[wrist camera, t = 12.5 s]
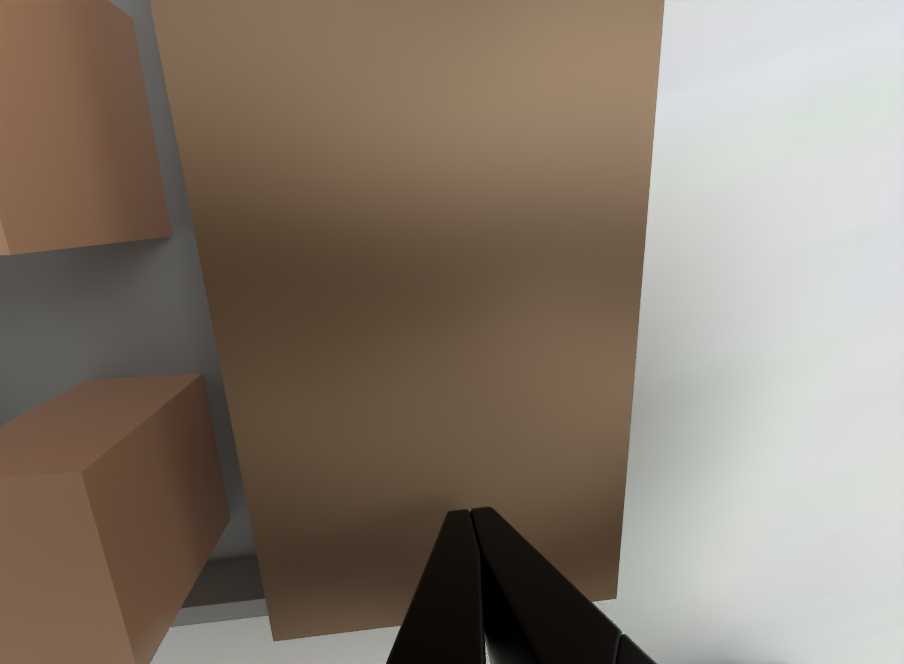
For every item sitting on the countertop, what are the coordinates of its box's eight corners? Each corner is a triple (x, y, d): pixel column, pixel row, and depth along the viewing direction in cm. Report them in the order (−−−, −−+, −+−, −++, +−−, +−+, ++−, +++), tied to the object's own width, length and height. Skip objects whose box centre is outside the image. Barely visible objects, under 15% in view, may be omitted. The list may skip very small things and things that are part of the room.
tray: (287, 557, 12) (269, 615, 10) (15, 587, 12) (-53, 653, 10) (174, -109, 8) (112, -195, 6) (-258, -119, 7) (-455, -217, 6)
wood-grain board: (577, 526, 13) (616, 598, 11) (299, 556, 12) (273, 641, 10) (606, -98, 9) (681, -212, 6) (191, -108, 8) (102, -241, 6)
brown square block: (140, 679, 7) (-22, 698, 7) (230, 519, 11) (126, 528, 11) (80, 472, 6) (-113, 486, 6) (203, 372, 10) (86, 379, 10)
